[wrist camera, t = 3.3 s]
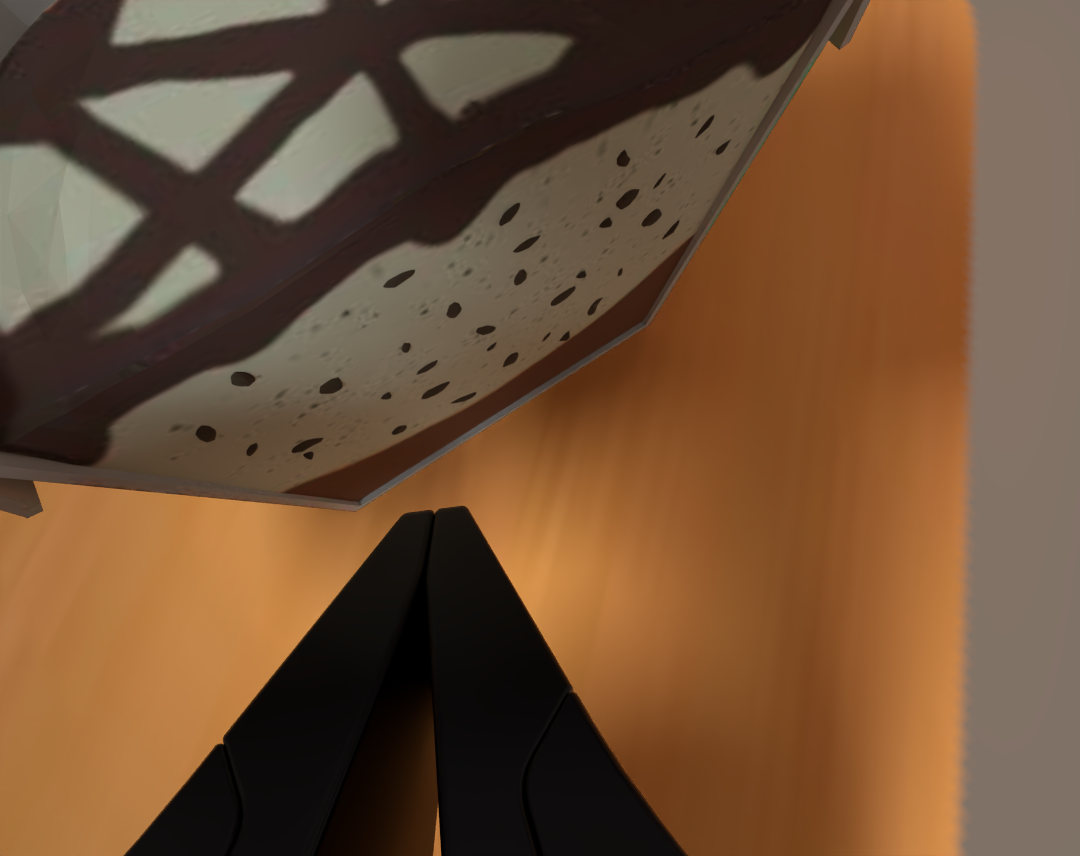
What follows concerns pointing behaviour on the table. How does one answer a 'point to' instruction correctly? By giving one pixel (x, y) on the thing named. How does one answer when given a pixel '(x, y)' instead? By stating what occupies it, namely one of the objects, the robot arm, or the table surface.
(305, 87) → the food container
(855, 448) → the table surface
